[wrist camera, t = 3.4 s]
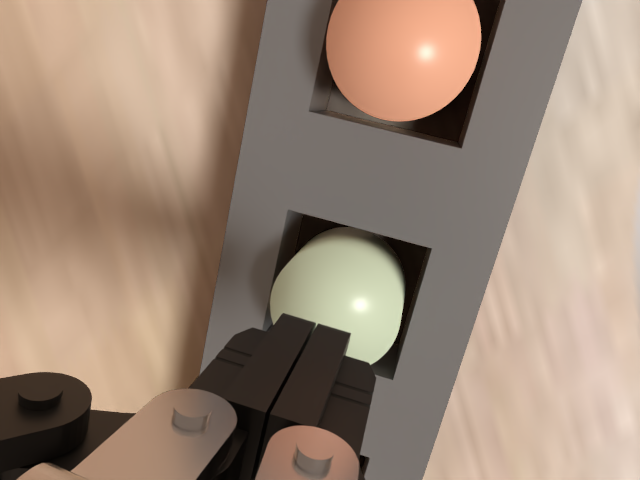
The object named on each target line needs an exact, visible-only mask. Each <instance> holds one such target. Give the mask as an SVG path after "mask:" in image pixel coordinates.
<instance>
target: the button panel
mask: <svg viewBox="0 0 640 480" xmlns="http://www.w3.org/2000/svg"><path fill="white" fill-rule="evenodd" d="M337 2H338V0H267V5H266V11H265V16H264V22H263V27H262V33H261V38H260V44H259V49H258V55H257V61H256V66H255V72H254V77H253V83H252V88H251V94H250V99H249V105H248V110H247V116H246V121H245V127H244V132H243V138H242V143H241V149H240V154H239V160H238V165H237V171H236V176H235V182H234V187H233V193H232V198H231V204H230V209H229V215H228V220H227V226H226V231H225V237H224V243H223V248H222V254H221V259H220V265H219V270H218V276H217V281H216V287H215V292H214V298H213V303H212V309H211V314H210V320H209V325H208V331H207V336H206V342H205V347H204V353H203V358H202V364H201V369H200V374H201V373H202V372H203V371H204V370H205V368H206V367H207V366H208V365H209V364H210V363H211V361H212V360H213V359H215V358H216V356H217V354H218V353H219V352H220V351H221V350H222V349H224V346H225V345H226V344H227V343H228V342H229V340H230V339H231V338H232V337H233V336H234V335H235V334H237V333H240V332H242V331H245V330H247V329H250V328H252V327H253V328H256V329H260V330H263V331H266V332H269V331H270V330H271V328H272V327H273V326H274V325H273V322H272V318H271V311H270V299H271V292H272V289H273V285H274V283H275V281H276V278H277V277H278V275H279V274H280V272H281V271H282V269H283V268H284V267H285V266H286V265H287V264H288V263H289V261H290V260H291V259H292V258H293V257H294V253H295V249H296V244H297V240H298V235H299V231H300V226H301V222H302V217H303V214H307V215H310V216H314V217H318V218H321V219H325V220H329V221H332V222H336V223H340V224H343V225H347V226H351V227H354V228H358V229H362V230H365V231H369V232H373V233H377V234H380V235H384V236H388V237H391V238H395V239H399V240H402V241H406V242H410V243H413V244H417V245H421V246H424V247H427V250H426V254H425V257H424V260H423V264H422V267H421V271H420V274H419V277H418V281H417V284H416V288H415V291H414V294H413V298H412V301H411V305H410V308H409V311H408V315H407V318H406V322H405V325H404V328H403V332H402V335H401V339H400V342H399V345H397V344H394V343H393V345H392V346H391V347H390V349H389V350H388V351H387V352H386V353H385V354H384V355H383V356H382V357H381V358H380V359H379V360H377V361H376V362H375V363H373V364H371V365H370V366H371V368H372V370H373V372H374V374H375V376H376V382H375V387H374V392H373V395H372V401H371V405H370V410H369V415H368V419H367V424H366V428H365V433H364V438H363V442H362V447H361V451H360V455H363V456H366V458H365V461H364V464H363V468H362V471H361V472H362V474H363V476H364V478H365V480H422V479H423V476H424V473H425V470H426V467H427V464H428V461H429V458H430V455H431V452H432V449H433V446H434V443H435V440H436V437H437V434H438V431H439V428H440V425H441V422H442V419H443V416H444V413H445V410H446V407H447V404H448V401H449V398H450V395H451V392H452V389H453V386H454V383H455V380H456V377H457V374H458V371H459V368H460V365H461V362H462V359H463V356H464V353H465V350H466V347H467V344H468V341H469V338H470V335H471V332H472V329H473V326H474V323H475V320H476V317H477V314H478V311H479V308H480V305H481V302H482V299H483V296H484V293H485V290H486V287H487V284H488V281H489V278H490V275H491V272H492V269H493V266H494V263H495V260H496V257H497V254H498V251H499V248H500V245H501V242H502V239H503V236H504V233H505V230H506V227H507V224H508V221H509V218H510V215H511V212H512V209H513V206H514V203H515V200H516V197H517V194H518V191H519V188H520V185H521V182H522V179H523V176H524V173H525V170H526V167H527V164H528V161H529V158H530V155H531V152H532V149H533V146H534V143H535V140H536V137H537V134H538V131H539V128H540V125H541V122H542V119H543V116H544V113H545V110H546V107H547V104H548V101H549V98H550V95H551V92H552V89H553V86H554V83H555V80H556V77H557V74H558V71H559V68H560V65H561V62H562V59H563V56H564V53H565V50H566V47H567V44H568V41H569V38H570V35H571V32H572V29H573V26H574V23H575V20H576V17H577V14H578V11H579V8H580V5H581V2H582V0H500V2H499V5H498V9H497V12H496V15H495V19H494V22H493V26H492V29H491V32H490V36H489V39H488V43H487V46H486V49H485V53H484V56H483V60H482V63H481V66H480V70H479V73H478V77H477V80H476V83H475V87H474V90H473V94H472V97H471V100H470V104H469V107H468V111H467V114H466V117H465V121H464V124H463V128H462V131H461V134H460V138H459V141H458V142H455V141H451V140H447V139H443V138H439V137H435V136H431V135H426V134H422V133H418V132H414V131H410V130H406V129H402V128H398V127H393V126H389V125H385V124H381V123H377V122H373V121H369V120H365V119H361V118H356V117H352V116H348V115H344V114H340V113H336V112H332V111H328V110H326V109H327V104H328V100H329V95H330V91H331V86H332V82H333V77H332V74H331V71H330V68H329V64H328V59H327V51H326V37H327V30H328V25H329V22H330V18H331V15H332V13H333V10H334V8H335V6H336V4H337Z"/></svg>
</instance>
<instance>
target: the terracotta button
mask: <svg viewBox="0 0 640 480" xmlns="http://www.w3.org/2000/svg"><path fill="white" fill-rule="evenodd" d="M480 45H481V26H480V19H479V15H478V12H477V8H476V6H475V3H474V1H473V0H338V2H337V4H336V6H335V8H334V10H333V13H332V15H331V18H330V22H329V25H328V30H327V37H326V51H327V59H328V64H329V68H330V71H331V74H332V77H333V79H334V81H335V83H336V85H337V86H338V88H339V89H340V91H341V92H342V94H343V95H344V96H345V97H346V98H347V99H348V100H349V101H350V102H351V103H352V104H353V105H354V106H355V107H357V108H358V109H360V110H361V111H363V112H364V113H366V114H369V115H371V116H373V117H376V118H379V119H382V120H388V121H411V120H416V119H420V118H423V117H426V116H428V115H431V114H433V113H435V112H437V111H439V110H440V109H442V108H443V107H445V106H446V105H447V104H449V103H450V102H451V101H452V100H453V99H454V98H455V97H456V96H457V95H458V94H459V93H460V92H461V91H462V89H463V88H464V87H465V85H466V84H467V82H468V81H469V79H470V77H471V75H472V73H473V71H474V69H475V66H476V63H477V60H478V56H479V52H480Z"/></svg>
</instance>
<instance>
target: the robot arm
mask: <svg viewBox="0 0 640 480" xmlns="http://www.w3.org/2000/svg"><path fill="white" fill-rule="evenodd" d="M350 337H351V333H349V332H346V331H343V330H339V329H336V328H333V327H329V326H326V325H322V324H319V323H318V324H317V326H316V323H315V322H312V321H309V320H305V319H302V318H299V317H295V316H292V315H289V314H285V313H282V314H281V316H280V317H279V319H278V320H277V321H276V323H275V324H274V326H273V327H272V328H271V330H270V331H269V332H266V331H263V330H260V329H256V328H253V327H252V328H250V329H247V330H245V331H242V332H240V333H237V334H235V335H234V336H233V337H232V338H231V339H230V340H229V342H228V343H227V344H226V345H225V346H224V349H222V350H221V351H220V352H219V353H218V354H217V356H216V358H215V359H213V360H212V361H211V363H210V364H209V365H208V366H207V367H206V368H205V370H204V371H203V372H202V373H201V374H200V375H199V377H198V378H197V379H196V380H195V381H194V382H193V384H192V385H191V386H190V387H189V388H188V389H175V390H171V391H167V392H164V393H162V394H160V395H158V396H156V397H155V398H153V399H152V400H151V401H150V402H149V403H147V404H146V405H145V406H144V407H143V408H142V409H141V410H140V411H138V412H137V413H119V412H108V411H98V410H90V409H91V400H92V396H91V392H90V389H89V388H88V387H87V385H86V384H84V383H83V382H82V381H80V380H78V379H77V378H74V377H72V376H69V375H65V374H60V373H51V372H38V373H29V374H23V375H17V376H12V377H6V378H0V480H365V478H364V476H363V474H362V472H361V469H360V464H359V457H360V451H361V447H362V442H363V438H364V433H365V428H366V424H367V419H368V415H369V410H370V405H371V401H372V395H373V392H374V387H375V382H376V376H375V374H374V372H373V370H372V368H371V366H370V364H369V363H368V362H365V361H361V360H358V359H355V358H352V357H348V356H346V352H347V349H348V345H349V341H350Z"/></svg>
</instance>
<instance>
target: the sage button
mask: <svg viewBox="0 0 640 480" xmlns="http://www.w3.org/2000/svg"><path fill="white" fill-rule="evenodd" d="M405 293H406V278H405V273H404V269H403V266H402V263H401V262H400V260H399V258H398V256H397V255H396V253H395V252H394V250H393V249H392V248H391V247H390V246H389V245H388V244H387V243H386V242H385V241H384V240H382V239H381V238H379V237H378V236H376V235H374V234H372V233H370V232H368V231H365V230H362V229H358V228H351V227H340V228H334V229H330V230H327V231H324V232H322V233H320V234H318V235H316V236H315V237H313V238H312V239H311V240H310V241H308V242H307V243H306V244H305V245H304V246H303V247H302V249H301V250H300V251H299V252H298V253H297V254H296V255H295V256H294V257H293V258H292V259H291V260H290V261H289V263H288V264H287V265H286V266H285V267H284V268H283V269H282V271H281V272H280V274H279V275H278V277H277V278H276V281H275V283H274V285H273V289H272V292H271V299H270V311H271V318H272V322H273V325H274V324H275V323H276V321H277V320H278V319H279V317H280V316H281V314H282V313H285V314H289V315H292V316H295V317H299V318H302V319H305V320H309V321H312V322H315V323H316V326H317V324H318V323H319V324H322V325H326V326H329V327H333V328H336V329H339V330H343V331H346V332H349V333H351V337H350V341H349V345H348V349H347V352H346V356H348V357H352V358H355V359H358V360H361V361H365V362H368V363H369V364H370V365H371V364H373V363H375V362H376V361H377V360H379V359H380V358H381V357H382V356H383V355H384V354H385V353H386V352H387V351H388V350H389V349H390V347H391V346H392V345H393V343H394V341H395V339H396V337H397V334H398V331H399V327H400V323H401V317H402V311H403V305H404V299H405Z"/></svg>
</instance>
